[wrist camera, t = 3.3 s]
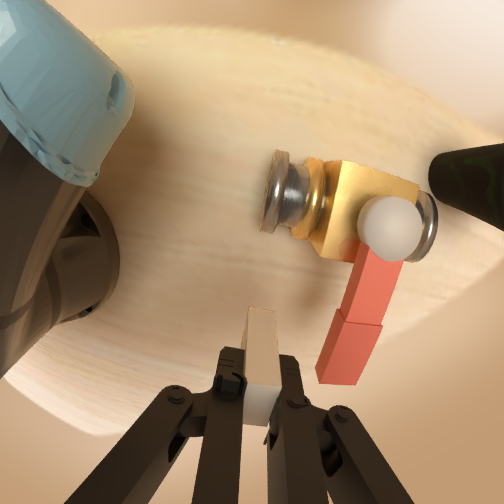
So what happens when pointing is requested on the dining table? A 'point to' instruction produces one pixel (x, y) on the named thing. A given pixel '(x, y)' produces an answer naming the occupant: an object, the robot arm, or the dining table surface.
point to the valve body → (336, 204)
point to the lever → (369, 287)
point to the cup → (471, 182)
